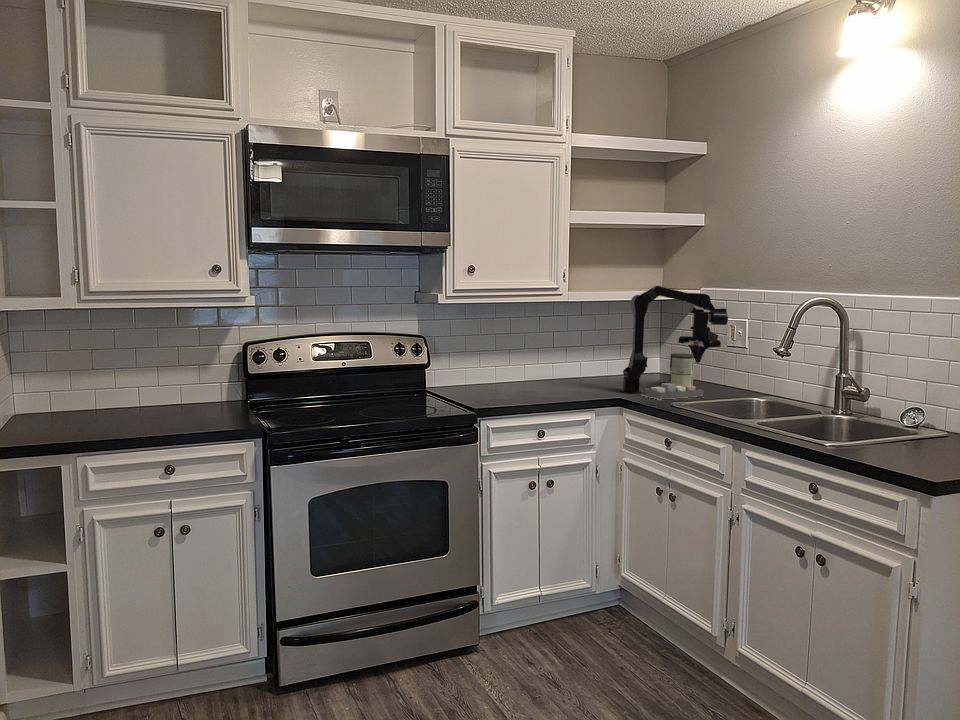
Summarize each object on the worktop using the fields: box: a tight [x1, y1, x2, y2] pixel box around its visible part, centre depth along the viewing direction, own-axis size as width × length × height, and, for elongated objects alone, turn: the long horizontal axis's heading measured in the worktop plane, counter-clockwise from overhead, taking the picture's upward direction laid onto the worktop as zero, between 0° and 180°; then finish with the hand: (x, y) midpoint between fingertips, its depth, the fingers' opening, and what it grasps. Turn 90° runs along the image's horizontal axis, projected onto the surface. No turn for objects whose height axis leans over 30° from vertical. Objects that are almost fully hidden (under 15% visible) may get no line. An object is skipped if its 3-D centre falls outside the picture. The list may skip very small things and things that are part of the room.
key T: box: [681, 385, 697, 390], centre depth 317 cm, size 4×4×3 cm
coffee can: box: [668, 352, 695, 386], centre depth 341 cm, size 10×10×14 cm
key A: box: [650, 386, 666, 392], centre depth 310 cm, size 4×4×3 cm
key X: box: [660, 382, 676, 392], centre depth 312 cm, size 4×4×3 cm
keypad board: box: [639, 387, 704, 401], centre depth 313 cm, size 11×24×3 cm, turn 118°
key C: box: [676, 386, 686, 391], centre depth 315 cm, size 4×4×3 cm
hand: (697, 362), depth 320 cm, fingers closed
